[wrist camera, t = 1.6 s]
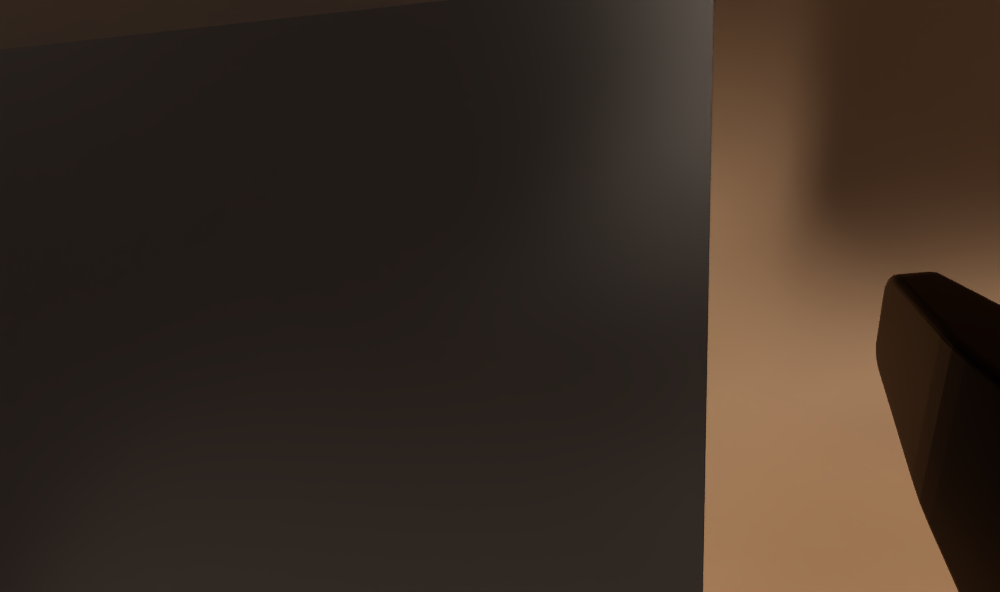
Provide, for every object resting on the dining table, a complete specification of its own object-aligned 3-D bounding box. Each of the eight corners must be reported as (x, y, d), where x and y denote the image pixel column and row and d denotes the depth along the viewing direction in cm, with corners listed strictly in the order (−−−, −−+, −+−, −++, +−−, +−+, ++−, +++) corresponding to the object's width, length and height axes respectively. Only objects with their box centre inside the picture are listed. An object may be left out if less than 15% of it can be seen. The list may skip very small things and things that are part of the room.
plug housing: (603, -207, 8) (714, -27, 3) (634, 484, 13) (695, 965, 8) (142, -147, 9) (-394, 92, 4) (342, 502, 14) (236, 971, 9)
